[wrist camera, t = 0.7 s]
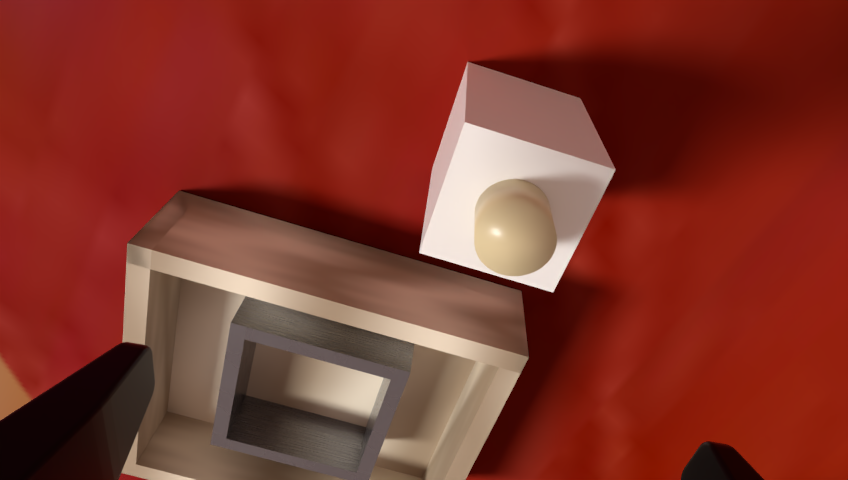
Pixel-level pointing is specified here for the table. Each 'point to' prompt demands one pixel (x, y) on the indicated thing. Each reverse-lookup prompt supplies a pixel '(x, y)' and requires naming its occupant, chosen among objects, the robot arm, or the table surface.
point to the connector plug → (514, 179)
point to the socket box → (310, 353)
